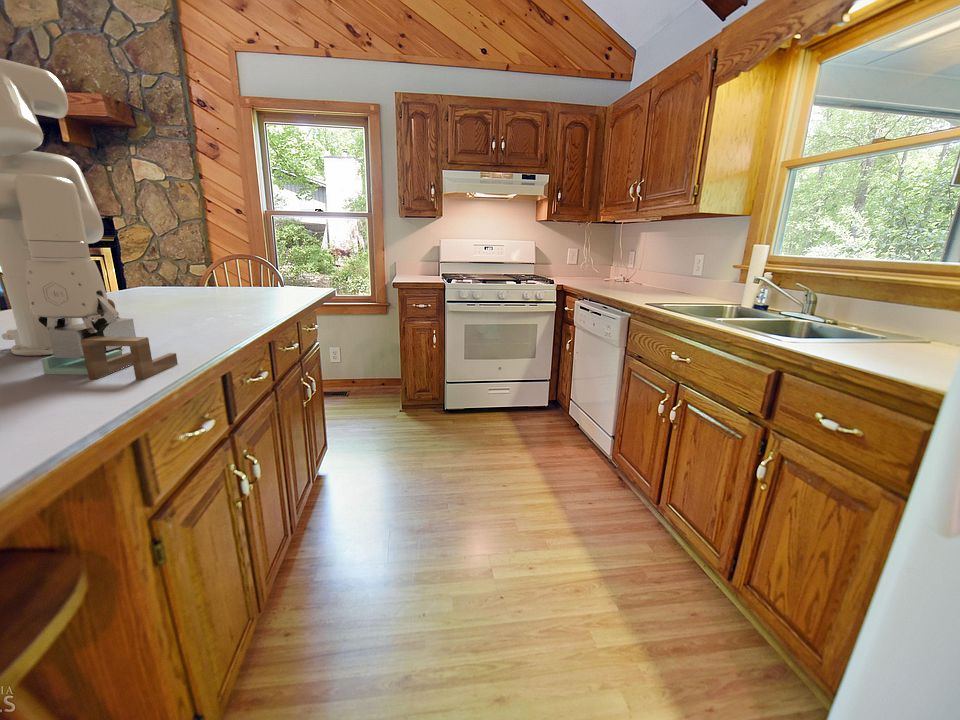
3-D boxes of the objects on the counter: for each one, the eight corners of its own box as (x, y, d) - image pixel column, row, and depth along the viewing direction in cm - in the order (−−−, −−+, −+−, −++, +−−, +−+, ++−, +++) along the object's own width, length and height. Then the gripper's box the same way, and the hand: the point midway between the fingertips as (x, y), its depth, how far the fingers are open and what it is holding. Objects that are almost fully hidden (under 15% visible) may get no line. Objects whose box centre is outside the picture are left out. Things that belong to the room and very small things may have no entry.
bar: (54, 357, 76) (48, 330, 75) (113, 341, 89) (109, 318, 88) (81, 358, 76) (76, 330, 75) (136, 342, 90) (132, 318, 89)
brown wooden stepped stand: (88, 378, 75) (80, 339, 73) (129, 363, 84) (123, 328, 82) (143, 379, 75) (136, 340, 73) (177, 363, 85) (172, 329, 83)
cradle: (44, 373, 76) (40, 358, 75) (77, 363, 83) (74, 349, 82) (96, 374, 77) (92, 359, 76) (124, 363, 84) (121, 350, 83)
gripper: (-15, 250, 70) (13, 357, 75) (95, 254, 71) (116, 358, 76) (28, 249, 77) (51, 346, 82) (127, 253, 79) (144, 348, 83)
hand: (82, 351), depth 79 cm, fingers open, 4 cm apart
